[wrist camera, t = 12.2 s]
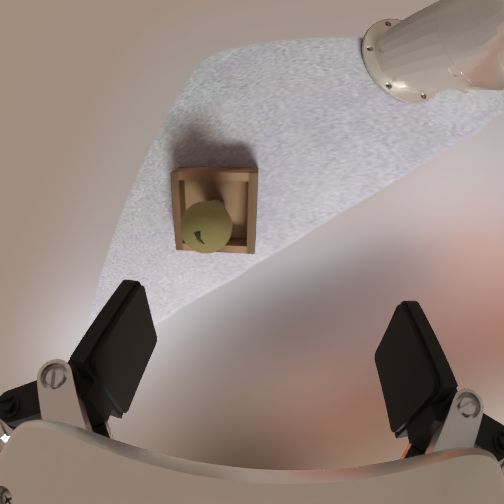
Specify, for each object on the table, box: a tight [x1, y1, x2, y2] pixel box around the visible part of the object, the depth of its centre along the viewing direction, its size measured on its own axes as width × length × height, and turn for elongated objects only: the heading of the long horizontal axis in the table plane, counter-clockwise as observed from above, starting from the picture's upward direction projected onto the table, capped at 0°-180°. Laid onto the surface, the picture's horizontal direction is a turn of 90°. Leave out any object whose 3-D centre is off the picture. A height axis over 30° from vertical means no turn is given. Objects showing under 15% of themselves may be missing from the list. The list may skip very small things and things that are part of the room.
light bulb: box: [180, 200, 232, 253], centre depth 31 cm, size 6×6×10 cm
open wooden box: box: [171, 167, 258, 254], centre depth 35 cm, size 10×10×4 cm
